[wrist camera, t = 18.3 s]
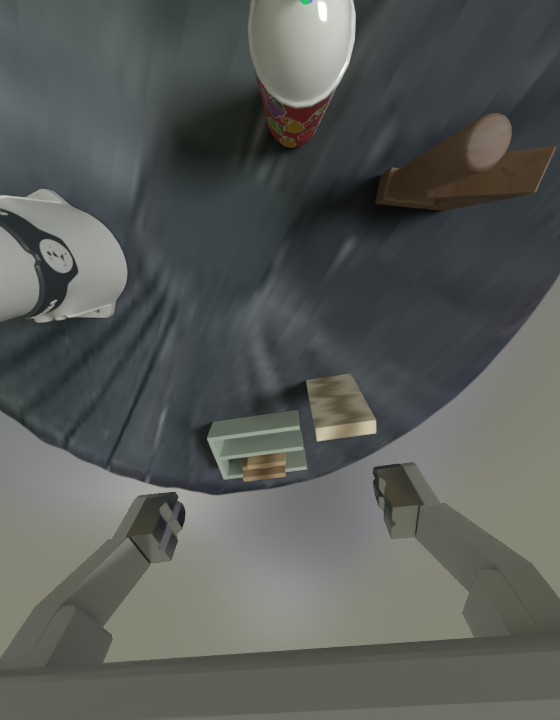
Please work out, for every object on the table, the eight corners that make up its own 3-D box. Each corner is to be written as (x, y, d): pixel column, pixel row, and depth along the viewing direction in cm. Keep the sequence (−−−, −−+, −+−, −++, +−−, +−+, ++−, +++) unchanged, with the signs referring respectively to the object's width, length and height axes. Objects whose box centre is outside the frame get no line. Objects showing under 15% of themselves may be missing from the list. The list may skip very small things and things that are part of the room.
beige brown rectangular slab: (307, 390, 49) (317, 441, 37) (305, 380, 48) (315, 428, 36) (351, 384, 49) (376, 433, 36) (350, 373, 48) (376, 419, 35)
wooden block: (444, 211, 35) (582, 184, 19) (373, 204, 35) (454, 170, 19) (454, 181, 34) (613, 124, 18) (380, 173, 33) (474, 107, 17)
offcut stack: (248, 453, 57) (244, 481, 50) (244, 441, 55) (239, 468, 49) (287, 448, 57) (288, 476, 50) (284, 435, 55) (285, 462, 48)
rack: (228, 461, 58) (223, 479, 54) (212, 421, 53) (206, 438, 48) (304, 451, 57) (306, 469, 52) (297, 409, 52) (299, 425, 47)
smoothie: (338, 101, 30) (423, -107, 12) (302, 172, 33) (329, 89, 15) (281, 53, 28) (284, -277, 10) (249, 133, 32) (209, -14, 14)
